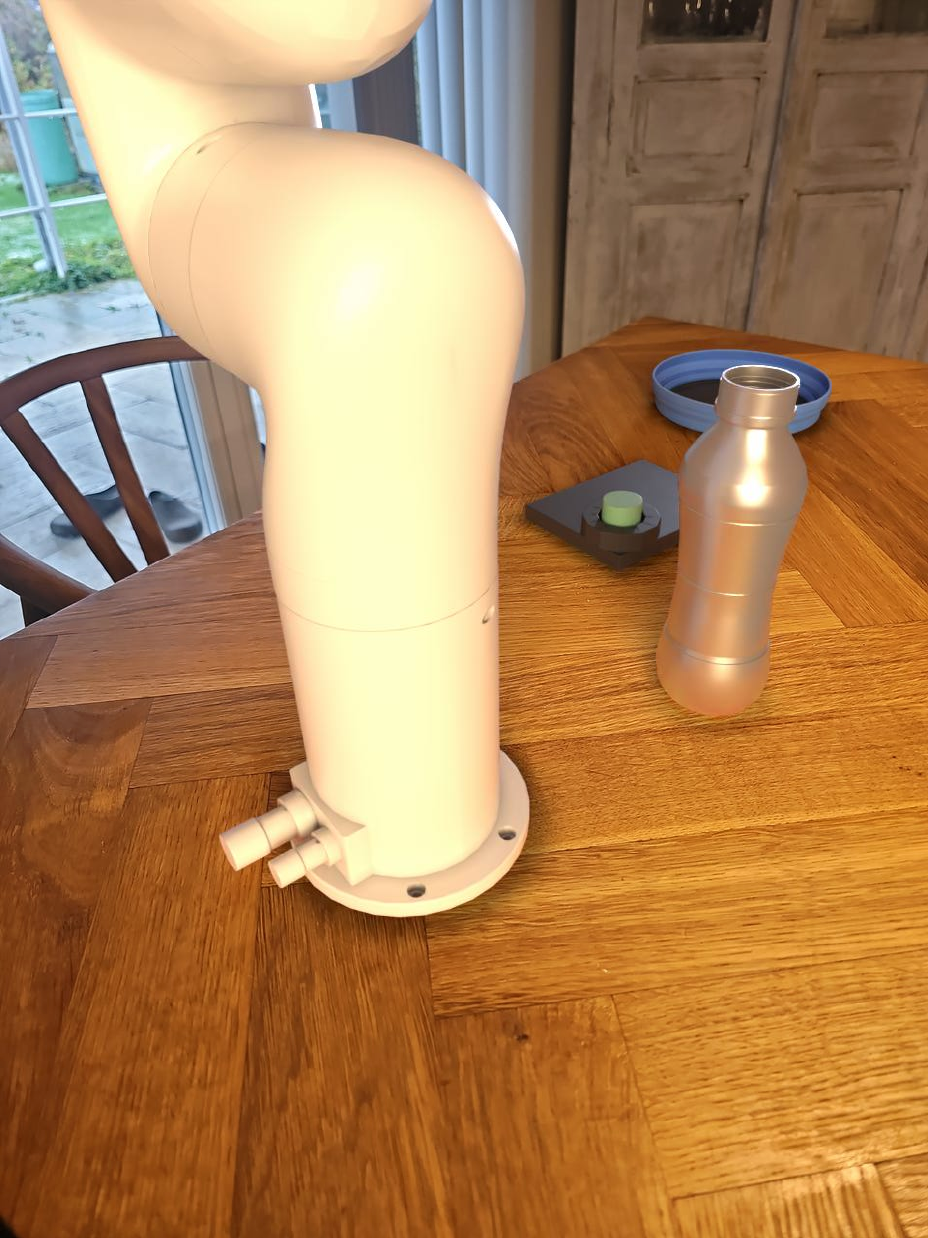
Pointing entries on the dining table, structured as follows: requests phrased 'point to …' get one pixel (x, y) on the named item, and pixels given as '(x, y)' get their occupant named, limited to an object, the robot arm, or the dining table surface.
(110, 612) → the dining table surface
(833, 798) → the dining table surface
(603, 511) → the button
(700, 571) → the silver metal bottle
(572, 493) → the scale
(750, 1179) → the dining table surface
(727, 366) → the bowl
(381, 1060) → the dining table surface
